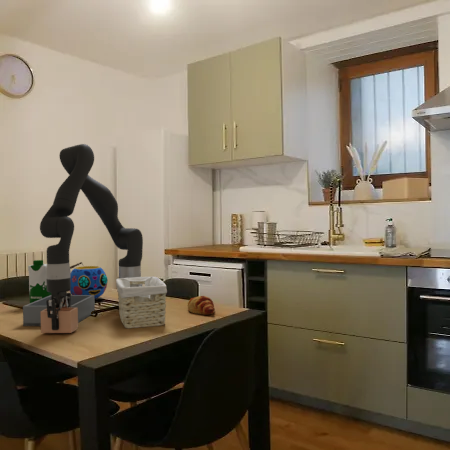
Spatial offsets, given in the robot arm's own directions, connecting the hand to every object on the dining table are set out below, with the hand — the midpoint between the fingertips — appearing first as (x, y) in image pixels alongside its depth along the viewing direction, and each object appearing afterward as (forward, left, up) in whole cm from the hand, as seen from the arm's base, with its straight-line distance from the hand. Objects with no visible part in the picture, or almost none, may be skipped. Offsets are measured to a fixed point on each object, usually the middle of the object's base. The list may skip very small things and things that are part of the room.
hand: (59, 327), depth 150 cm
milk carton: (+27, -44, -2) cm, 52 cm away
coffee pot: (+33, -79, -2) cm, 86 cm away
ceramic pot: (+12, -59, -2) cm, 60 cm away
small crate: (0, 0, -1) cm, 1 cm away
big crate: (+8, -20, -2) cm, 21 cm away
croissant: (-43, -34, -2) cm, 55 cm away
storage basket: (-23, -18, -2) cm, 29 cm away
